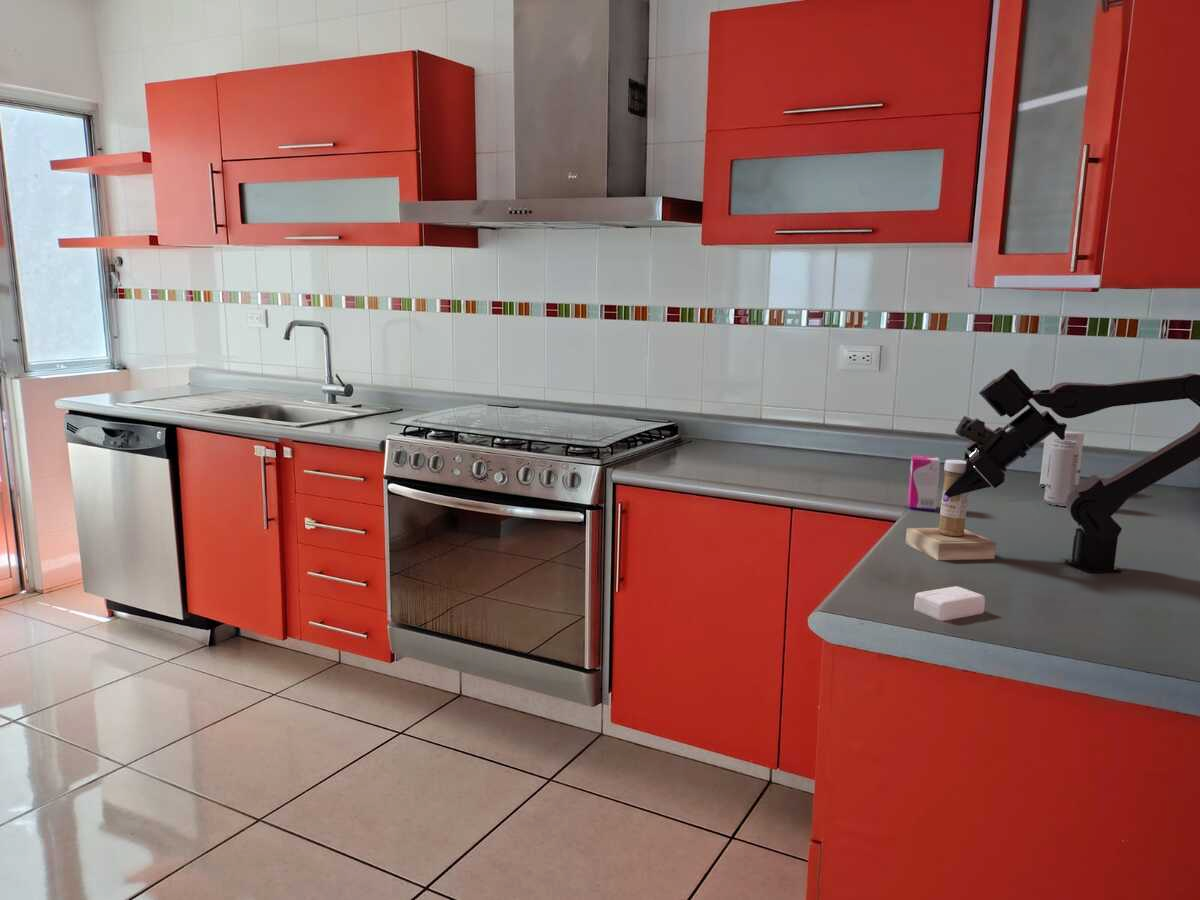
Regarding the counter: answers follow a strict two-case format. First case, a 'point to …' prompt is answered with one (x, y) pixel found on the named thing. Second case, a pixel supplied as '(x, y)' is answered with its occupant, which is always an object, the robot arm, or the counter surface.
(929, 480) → the supplement box
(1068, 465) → the energy drink can
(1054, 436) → the skincare box
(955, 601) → the soap
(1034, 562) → the counter surface
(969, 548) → the beech tray
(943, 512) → the sprinkles bottle
